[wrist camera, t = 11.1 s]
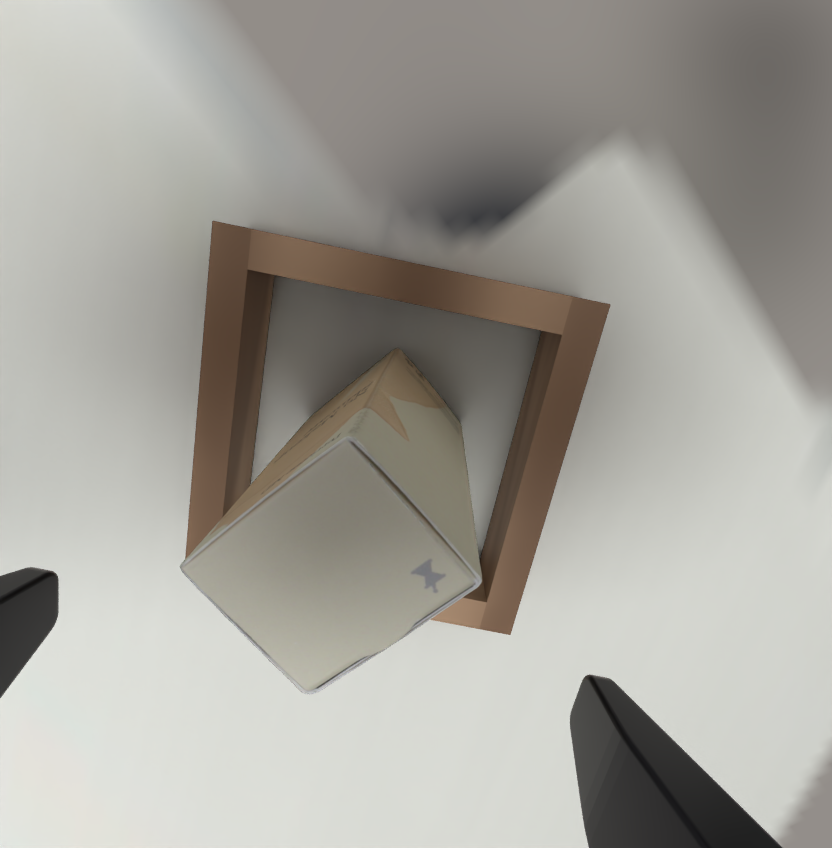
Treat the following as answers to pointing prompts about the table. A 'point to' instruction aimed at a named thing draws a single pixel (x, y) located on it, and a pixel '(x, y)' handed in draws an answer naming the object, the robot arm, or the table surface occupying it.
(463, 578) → the box
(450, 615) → the brown square frame
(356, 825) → the table surface
